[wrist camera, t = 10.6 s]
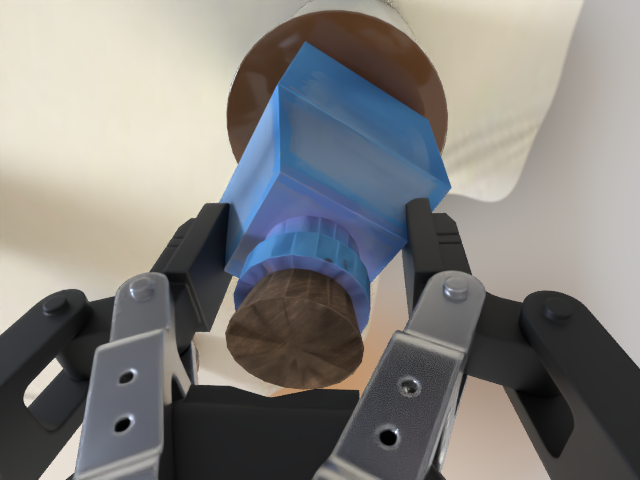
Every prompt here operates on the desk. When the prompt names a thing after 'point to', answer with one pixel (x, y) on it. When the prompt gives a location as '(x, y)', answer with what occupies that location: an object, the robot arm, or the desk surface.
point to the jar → (349, 50)
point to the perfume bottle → (320, 219)
